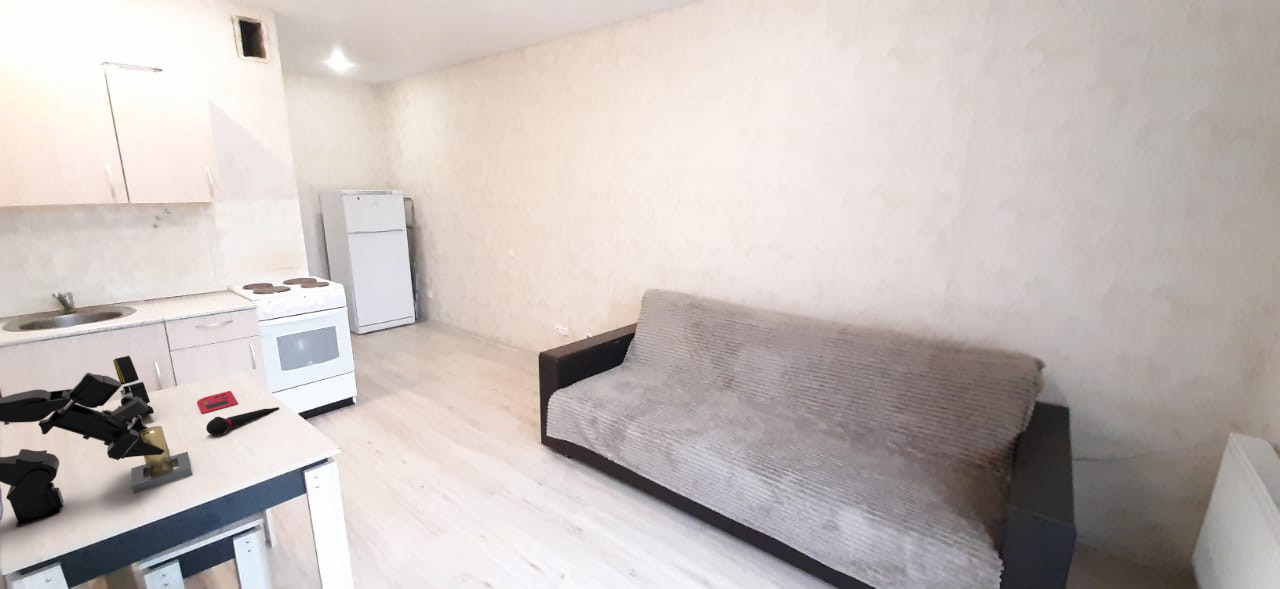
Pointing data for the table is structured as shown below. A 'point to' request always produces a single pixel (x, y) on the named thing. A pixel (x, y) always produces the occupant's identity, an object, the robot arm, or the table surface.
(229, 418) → the microphone
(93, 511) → the table surface
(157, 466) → the ball
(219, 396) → the handheld gaming console
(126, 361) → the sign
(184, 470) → the frame
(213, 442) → the table surface
